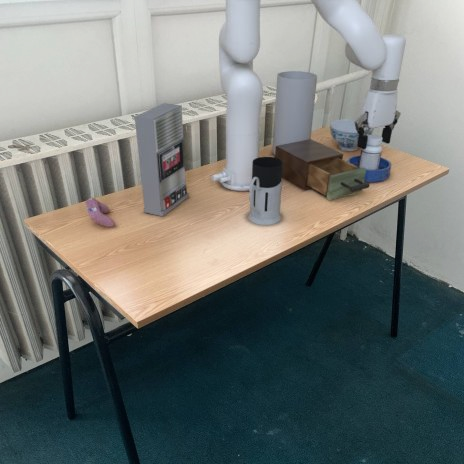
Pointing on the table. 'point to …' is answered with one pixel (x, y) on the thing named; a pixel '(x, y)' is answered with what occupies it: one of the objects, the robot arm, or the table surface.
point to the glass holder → (265, 191)
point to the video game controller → (99, 212)
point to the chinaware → (346, 134)
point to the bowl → (374, 175)
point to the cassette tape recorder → (161, 158)
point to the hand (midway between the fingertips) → (373, 145)
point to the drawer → (336, 178)
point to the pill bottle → (371, 153)
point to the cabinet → (302, 159)
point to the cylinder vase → (294, 107)
